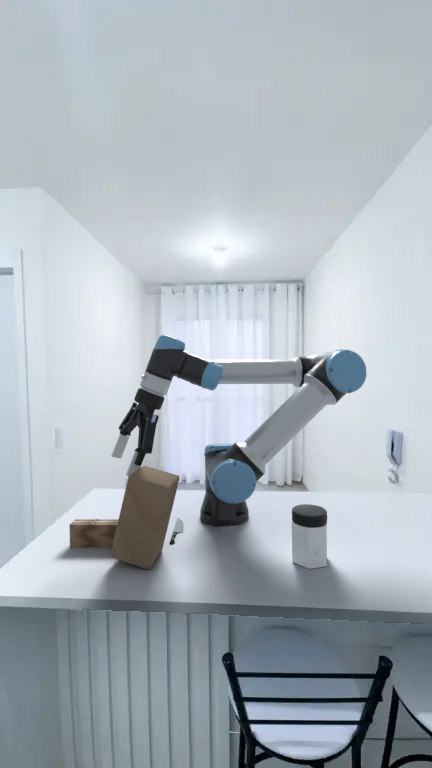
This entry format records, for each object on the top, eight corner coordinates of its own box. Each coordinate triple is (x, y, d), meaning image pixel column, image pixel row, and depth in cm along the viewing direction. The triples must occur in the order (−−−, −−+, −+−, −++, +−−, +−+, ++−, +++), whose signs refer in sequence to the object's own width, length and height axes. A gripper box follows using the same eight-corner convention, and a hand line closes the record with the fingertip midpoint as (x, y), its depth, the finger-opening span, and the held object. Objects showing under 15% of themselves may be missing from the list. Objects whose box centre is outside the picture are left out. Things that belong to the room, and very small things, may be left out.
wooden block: (149, 571, 82) (168, 487, 81) (109, 557, 84) (128, 475, 83) (162, 550, 92) (180, 475, 91) (126, 538, 94) (143, 464, 93)
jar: (300, 571, 81) (299, 518, 81) (285, 554, 89) (284, 506, 89) (336, 566, 83) (335, 514, 83) (318, 549, 91) (317, 502, 91)
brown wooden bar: (163, 541, 97) (162, 519, 97) (160, 547, 93) (160, 524, 93) (75, 541, 98) (75, 518, 98) (70, 547, 95) (69, 524, 94)
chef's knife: (187, 518, 114) (177, 517, 114) (187, 514, 114) (178, 514, 114) (180, 546, 95) (169, 545, 95) (180, 541, 95) (169, 541, 95)
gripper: (125, 379, 105) (98, 447, 105) (157, 397, 84) (124, 482, 84) (148, 387, 109) (122, 453, 109) (184, 406, 88) (152, 487, 88)
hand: (123, 466), depth 96 cm, fingers open, 13 cm apart
